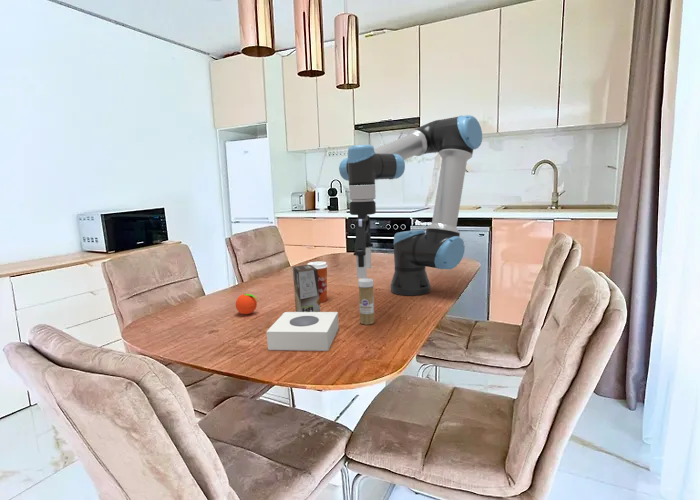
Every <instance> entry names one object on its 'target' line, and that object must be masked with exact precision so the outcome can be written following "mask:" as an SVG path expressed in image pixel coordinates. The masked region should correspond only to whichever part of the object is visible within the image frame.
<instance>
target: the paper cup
mask: <svg viewBox="0 0 700 500" xmlns="http://www.w3.org/2000/svg"><path fill="white" fill-rule="evenodd" d="M306 265H312V266H313V267H315V268H316V269H318V285H319V301H320V304H321V303H325V302H327V301H328V299H327V297H328V267H329V266H328V264H327V262H326V261H319V260H318V261H310V262H308V263H307V264H306Z"/></svg>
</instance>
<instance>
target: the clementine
mask: <svg viewBox="0 0 700 500" xmlns="http://www.w3.org/2000/svg"><path fill="white" fill-rule="evenodd" d="M258 302H259V301H258V298H257V297H256V296H255V295H253V294H251V293H242V294H241V295H239V296H238V297H237V298H236V300H235V308H236V310H237V311H238V313H240V314H242V315H250V314H252V313H254V312H255V310H256V309H257V307H258Z"/></svg>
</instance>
